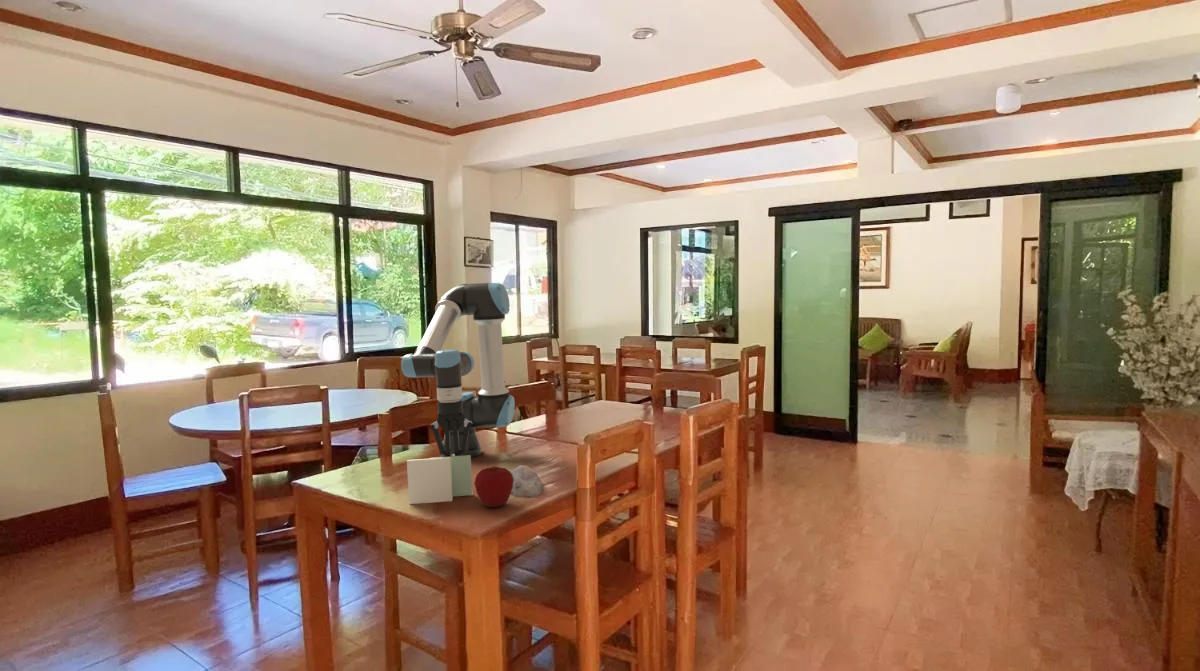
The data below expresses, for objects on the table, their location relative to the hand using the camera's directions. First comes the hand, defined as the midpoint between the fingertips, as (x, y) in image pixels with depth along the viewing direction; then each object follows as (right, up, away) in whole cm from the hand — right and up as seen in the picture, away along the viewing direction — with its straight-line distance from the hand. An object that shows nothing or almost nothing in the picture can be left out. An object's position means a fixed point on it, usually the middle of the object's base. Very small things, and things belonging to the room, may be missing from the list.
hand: (454, 475), depth 195 cm
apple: (+15, -6, -13) cm, 20 cm away
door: (0, -5, -1) cm, 5 cm away
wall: (-5, -6, -7) cm, 11 cm away
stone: (+22, -5, +2) cm, 22 cm away
